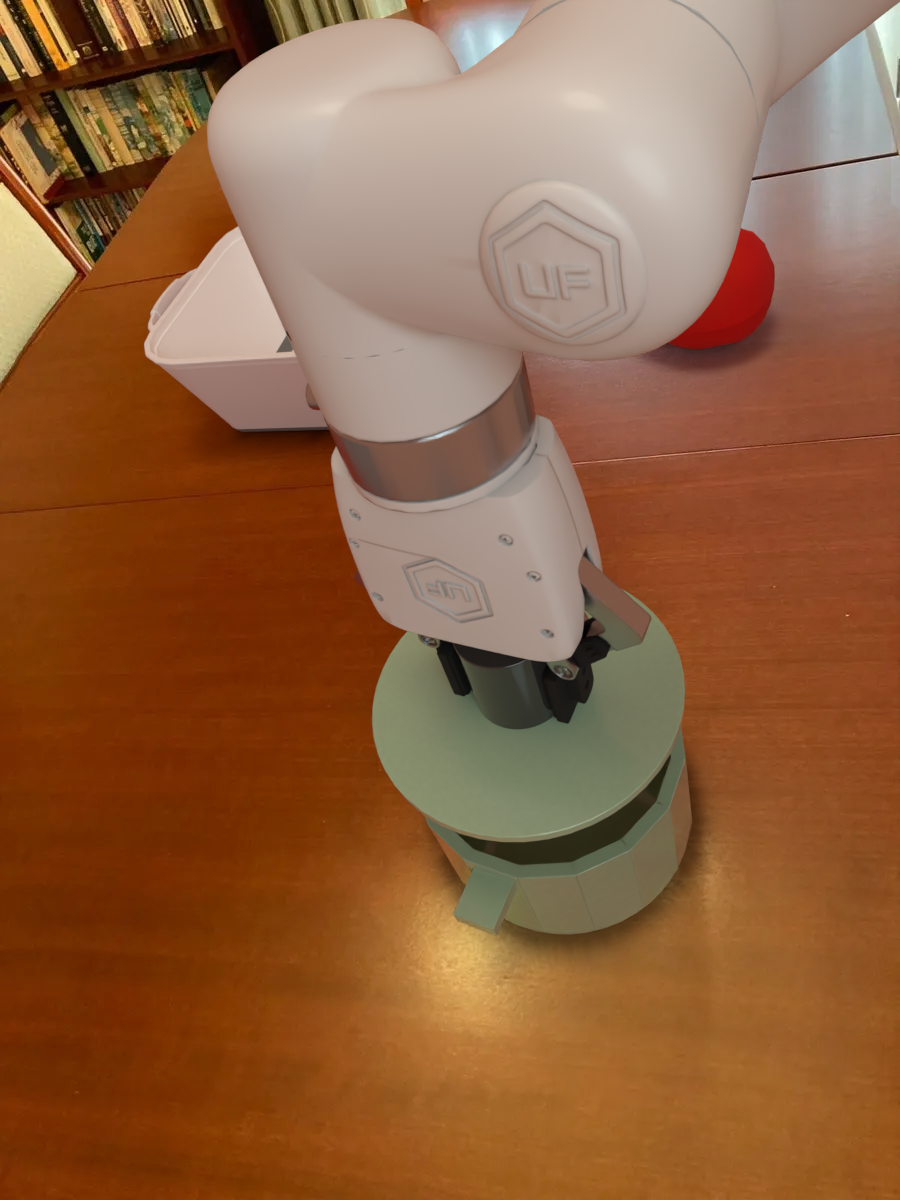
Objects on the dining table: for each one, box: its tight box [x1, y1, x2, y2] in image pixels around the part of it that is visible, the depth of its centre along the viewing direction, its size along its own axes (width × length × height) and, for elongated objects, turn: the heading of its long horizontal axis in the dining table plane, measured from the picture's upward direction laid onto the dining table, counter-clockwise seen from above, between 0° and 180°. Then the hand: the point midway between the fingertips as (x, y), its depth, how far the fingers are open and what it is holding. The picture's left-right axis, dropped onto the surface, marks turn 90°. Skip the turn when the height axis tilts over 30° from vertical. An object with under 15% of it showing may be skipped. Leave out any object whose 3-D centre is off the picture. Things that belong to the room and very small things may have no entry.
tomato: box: [667, 227, 776, 351], centre depth 81 cm, size 13×12×11 cm
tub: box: [143, 226, 329, 433], centre depth 91 cm, size 34×27×13 cm
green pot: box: [424, 727, 693, 937], centre depth 54 cm, size 16×21×8 cm
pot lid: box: [371, 588, 687, 842], centre depth 45 cm, size 17×17×7 cm
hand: (520, 684), depth 46 cm, fingers closed on pot lid, 5 cm apart
